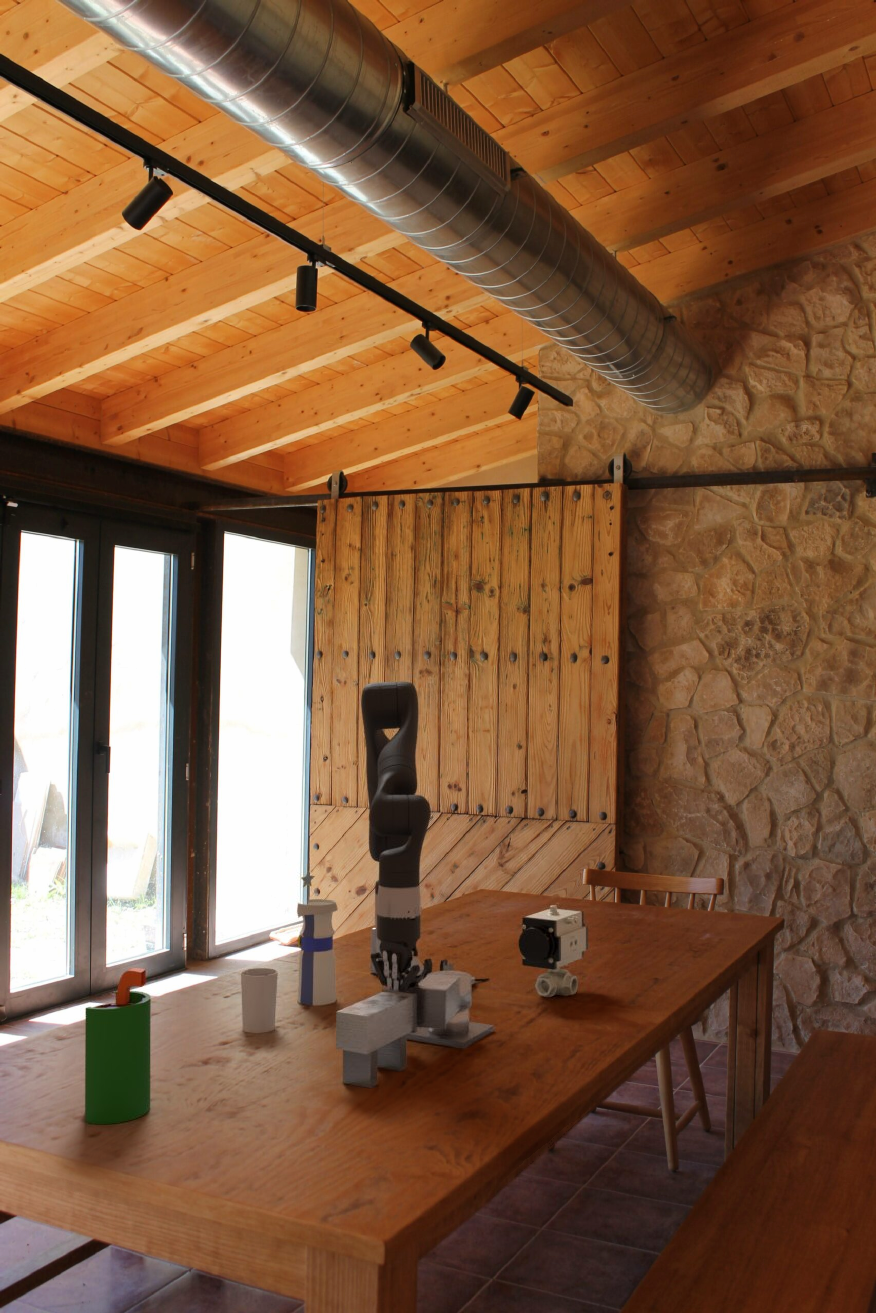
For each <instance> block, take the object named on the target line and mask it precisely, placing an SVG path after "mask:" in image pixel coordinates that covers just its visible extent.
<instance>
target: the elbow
mask: <svg viewBox="0 0 876 1313" xmlns="http://www.w3.org/2000/svg"><path fill="white" fill-rule="evenodd" d="M471 977H472V974H470V973H468V972H466V971H461V970H453V971H440V970H438V971H432V973H429V974H427V977H425V978H424V979H423V980H422V981H421V982H419V983H418V984H417V985H416V986H415V987H410V988H409V991H408V992H413V993H417V1027H423V1028H435V1029H446V1024H447V1023H448V1021H449V1020H450V1019H451V1018H452V1017H453V1016H454V1015H455V1014H456V1013H457V1012H458V1011H459V1010H462V1009H466V1008H469V1009H470V1007H471V1006H472V984H471Z"/></svg>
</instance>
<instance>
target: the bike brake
mask: <svg viewBox="0 0 876 1313" xmlns="http://www.w3.org/2000/svg"><path fill="white" fill-rule="evenodd" d="M423 963H425V964H426V965H427V970H426V972H425V973H424V975H423V977H422V978H421V980H420V982H421V981H422V980H423V979H424V978H425V977H427V974H429V973H432V972H433V961H432V959H431V958H426V959H424V960H423ZM454 964H455V963H453V962H452V963H451V962H448V960H447V959H441V960H440V963H439V971H454ZM487 981H490V977H486V978H476V977H475V976H471V985H474V984H476V982H487ZM420 982H419V983H420ZM402 983H403V980H402Z"/></svg>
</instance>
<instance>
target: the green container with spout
mask: <svg viewBox="0 0 876 1313" xmlns="http://www.w3.org/2000/svg"><path fill="white" fill-rule="evenodd" d="M146 974H147V972H146V969H145V968H140V967H132V968H128V970H126V971H125V972H123V973H122V975H121V977H120V979H119V982H118V985H117V990H116V991H115V1002H112V1003H111V1002H109V1003H104V1004H99V1005H95V1006H88V1007H85V1029H84V1030H85V1031H84V1032H85V1033H84V1034H85V1040H84V1041H85V1044H84V1046H85V1052H84V1056H85V1057H84V1058H85V1059H84V1062H85V1063H84V1066H85V1068H84V1070H85V1072H84V1077H85V1078H84V1081H85V1082H84V1083H85V1084H84V1123H86V1124H93V1125H109V1124H110V1125H111V1124H112V1125H113V1124H121V1123H125V1122H129V1121H132V1120H135V1119H138V1118H140V1117H143V1116H144V1115H146V1114H147V1113H148V1112H149V1111H150V1110H151V1006H152V1005H151V1001H152V1000H151V995H150V994H149V993H147V992H143V991H138V990H137V991H136V990H131V986H132V987H137V988H142V987H143V986H145V985H146V980H147V977H146V976H147V975H146Z"/></svg>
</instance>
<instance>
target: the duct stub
mask: <svg viewBox="0 0 876 1313" xmlns="http://www.w3.org/2000/svg"><path fill="white" fill-rule="evenodd" d="M493 1032H495V1025H494V1024H488V1023H481V1022H474V1021H470V1007H469V1008H466V1009H462V1010H459V1011H458V1012H457V1013H456V1014H455V1015H454V1016H453V1017H452V1018H451V1019H450V1020H449V1021H448V1023H447V1024H446V1029H435V1028H423V1027H417V1032H416V1033H411V1032H410V1033H408V1034H407V1040H409V1041H414V1042H422V1043H426V1044H431V1045H437V1046H445V1047H452V1048H456V1049H466V1048H467V1047H468V1048H469V1047H470V1046H471V1045H472V1044H474V1043H476V1042H478V1041H479V1040H481V1039H483V1038H484V1037H486V1036H487V1035H489V1034H491V1033H493Z"/></svg>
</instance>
